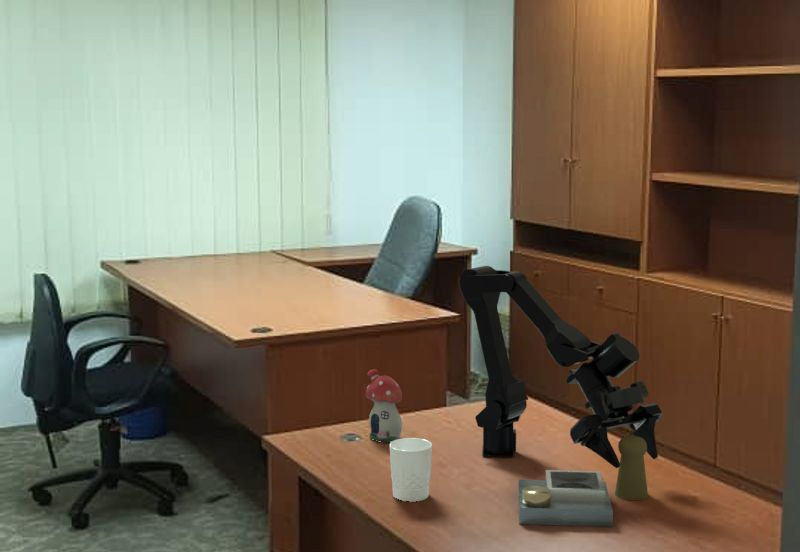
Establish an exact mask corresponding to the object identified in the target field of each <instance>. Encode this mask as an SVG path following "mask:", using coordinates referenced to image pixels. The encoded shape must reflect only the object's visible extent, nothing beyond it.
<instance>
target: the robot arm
mask: <svg viewBox="0 0 800 552" xmlns="http://www.w3.org/2000/svg"><path fill="white" fill-rule="evenodd" d="M458 286H459V289H460V292H461V294H462V297H463V300H464V302H465V303H466V304H467V306H468V307H469V308H470V309H471V310H472V312H473V314H474V318H475V319H474V320H475V323H476V328H477V332H478V333H477V334H478V338H479V341H480V342H479V343H480V347H481V351H482V356H483V361H484V365H485V369H486V373H487V379H488V381H487V385H486V389H485V394H484V396H485V397H484V399H485V407H484V408H483V409H482V410H480V412H478V414H476V416H475V422H476V425H477V428H482V430H483V431H482V450H481V451H482V455H481V456H482V457H491V458H492V457H494V458H495V457H496V458H499V457H500V458H514V457H515V454H514V453H515V452H516V451H517V429H515V428H514V423H517V422H519V421H520V418H521V416H522V414H524V412H525V410H526V409H527V404H528V403H527V401H528V400H529V397H528V395H527V392H526V387H525V386H526V384H525V382H524V380H521V381H518V380H517V379H516V378H515V377H514V375H513V373H512V369H511V365H510V360H509V357H508V352H507V347H506V343H505V338H504V333H503V329H502V324H501V320H500V319H501V318H500V316H499V311H498V310H499V309H498V306H499V305H498V304H499V300H500V296H501V293H506V294H507V295H508V296H509V297H510V298H511V300H512V301H513V302H514V303H515V304H516V305H517V307H518V308H519V309H520V310H521V311H522V312H523V314H524V315H525V316H526V318H528V319H529V321H530V322H531V323H532V324H533V325H534V326H535V328H536V329H537V330H538V331H539V332H540V334H541V335H542V337H543V338H544V343H545V348H546V349H547V351H548V352H549V354H550V356H551V357H552V359H553V360H554V361H555V363H556V364H557V365H558V366H559V367H566V368H570V367H572V366H576V365H577V364H580V365H579V367H577V368H576V369H569V371H568V372H569V373H568V376H567V377H566V383H567V384H578V386H579V388H580V390H581V391H582V393H583V395H584V397H585V399H586V401H587V402H586V403H585V404H584V406H585V408H586V410H590V409H591V411H592V412H593V414H591V415H585V416H581V417H580V418H579V419H578V421H577V422H576V423H574V425H573V426H572V427H570V430H569V433H570V434H569V436H570V438H571V440H572V442H573V444H580V446H581V447H585V448H587V449H588V450H591V451H592V453H595V454H596V455H598V456H599V457H600V458H602V459H604V460H605V461H606V462H608V463H609V464H610V465H611V466H612V467H614V468H615V469H619V466H620V459H619V458H618V456H617V454H616V452H615V450H614V447H613V446H612V443H611V442H610V440H609V437H608V430H610V429H615V428H620V427H625V426H629V429H631V430H633V431H634V432H633V433H632V436H637V437H641V438H643V439H644V440H645V442H646V444H647V451H646V454H648V455H649V456H650V457H651V458H652V459H653V460H657V458H658V457H659V455H658V449H657V443H656V442H657V441H656V437H655V436H656V435H655V426H656V424H657V422H658V421H659V420H660V417H662V415H663V412H662V410H661V408H660V406H659V405H658V404H656V403H654V402H653V403H652V402H651V403H647V404H643V403H645V398H648V397H649V392H648V391H649V390H648V387H647V386H646V385H645V383H644V382H643V381H636V382H633V383H631V384H630V387H627V388H621V386H619V385H616V386H614V384H613V383H612V381H611V379H610V377H611V378H619V377H620V376H621V375H622V374H624V373H625V372H626V371H627V370H628V369H630V368H631V367H632V366H633V365H634V364H635V363H637V362H638V361H639V360H640V353H639V351H638V348H637V347H636V345H635V344H634V343H632V342H630V340H629V339H626V338H625V337H622V336H621V335H620V334H619V332H614V333H611V334H610V335H609V336H607V338H606V339H605V340H604V342H602V344H601V343H598V342H595V341H592V340H591V339H589V337H588V336H587V335H586V334H584V333H583V332H582V331H580V329H578V328H577V327H576V326H574V325H572V324H570V323H568V322H566V321H564V319H562V318H561V317H560V316H559V315H558V314H557V313H556V311H555V310H554V309H553V308H552V307H551V306H550V304H549V303H548V302H547V301H546V300H545V298H544V297H542V295H541V294H540V293H539V291H537V290H536V288H535V287H534V286H533V285H532V284H531V283H530V282H529V280H528V279H527V276H526V275H525V273H523V272H522V271H519V270H517V271H510V270H500V269H499V270H498V269H495V268H493V267H492V266H490V265H481V266H476V267H472V268H467V269H466V270H464V271H463V272H462V273H461V274H460V276H459V278H458ZM591 359H592V360H591ZM589 360H591V361H590V362H586V361H589ZM583 362H584V363H583ZM581 363H582V364H581ZM639 403H640V404H642V405H639V406H637V408H635V407H634V405H636V404H639ZM634 408H635V410H634V411H633V412H632V413H629V412H631V411H632V410H633V409H634Z"/></svg>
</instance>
